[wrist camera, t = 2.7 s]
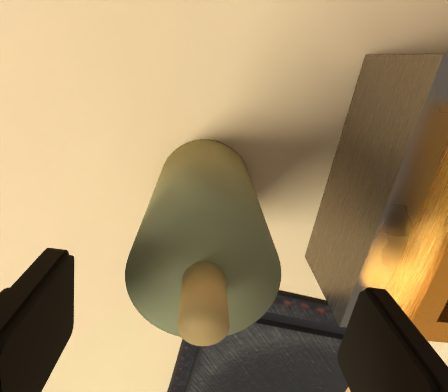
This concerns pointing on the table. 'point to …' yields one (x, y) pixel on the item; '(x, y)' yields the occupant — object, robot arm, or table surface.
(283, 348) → the dark grey flat slab
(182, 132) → the table surface
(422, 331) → the box
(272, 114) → the table surface
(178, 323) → the spout can
